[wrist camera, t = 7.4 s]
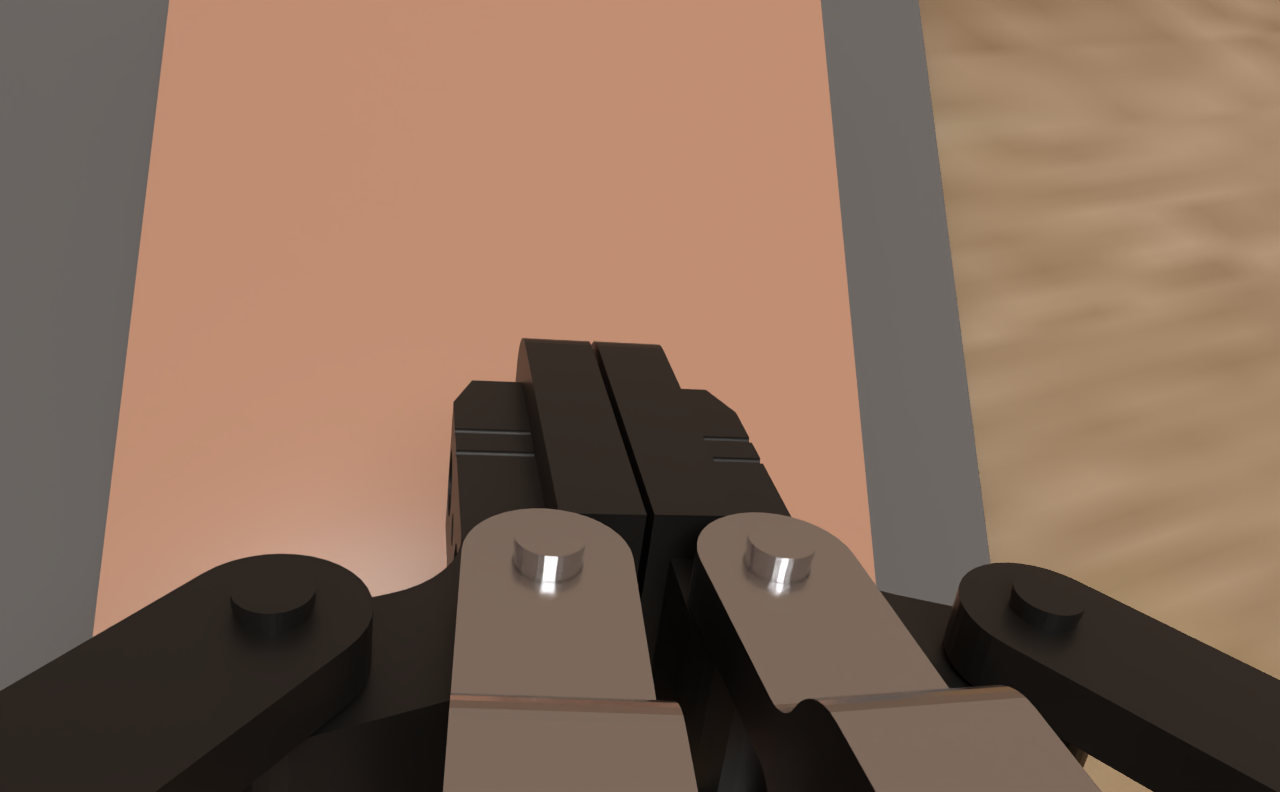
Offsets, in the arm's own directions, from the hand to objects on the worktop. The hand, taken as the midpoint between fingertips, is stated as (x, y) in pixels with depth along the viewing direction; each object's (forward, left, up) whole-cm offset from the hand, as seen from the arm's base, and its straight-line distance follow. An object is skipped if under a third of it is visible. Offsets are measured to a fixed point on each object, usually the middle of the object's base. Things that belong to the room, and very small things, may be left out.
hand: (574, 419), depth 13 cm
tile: (0, +4, -7) cm, 9 cm away
